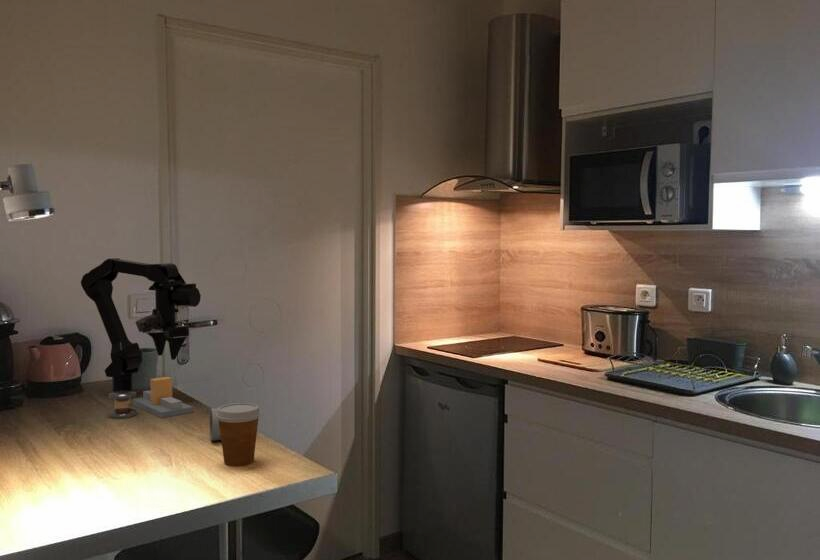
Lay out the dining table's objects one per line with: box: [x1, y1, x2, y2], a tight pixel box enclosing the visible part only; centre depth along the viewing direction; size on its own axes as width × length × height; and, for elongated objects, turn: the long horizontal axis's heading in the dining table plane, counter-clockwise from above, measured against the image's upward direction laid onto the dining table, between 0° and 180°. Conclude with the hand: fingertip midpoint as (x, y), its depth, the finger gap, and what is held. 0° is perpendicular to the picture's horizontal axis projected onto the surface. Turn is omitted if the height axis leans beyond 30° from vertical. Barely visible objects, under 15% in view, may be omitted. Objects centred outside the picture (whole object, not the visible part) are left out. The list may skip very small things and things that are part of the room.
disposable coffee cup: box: [216, 402, 262, 467], centre depth 153 cm, size 10×10×12 cm
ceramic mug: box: [208, 407, 221, 442], centre depth 172 cm, size 11×8×8 cm
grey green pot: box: [132, 347, 159, 390], centre depth 226 cm, size 10×10×12 cm
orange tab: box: [150, 376, 173, 405], centre depth 199 cm, size 3×5×7 cm, turn 133°
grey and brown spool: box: [108, 390, 138, 419], centre depth 192 cm, size 7×7×6 cm
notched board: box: [131, 389, 194, 419], centre depth 199 cm, size 20×9×4 cm, turn 43°
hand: (166, 357), depth 210 cm, fingers open, 9 cm apart
